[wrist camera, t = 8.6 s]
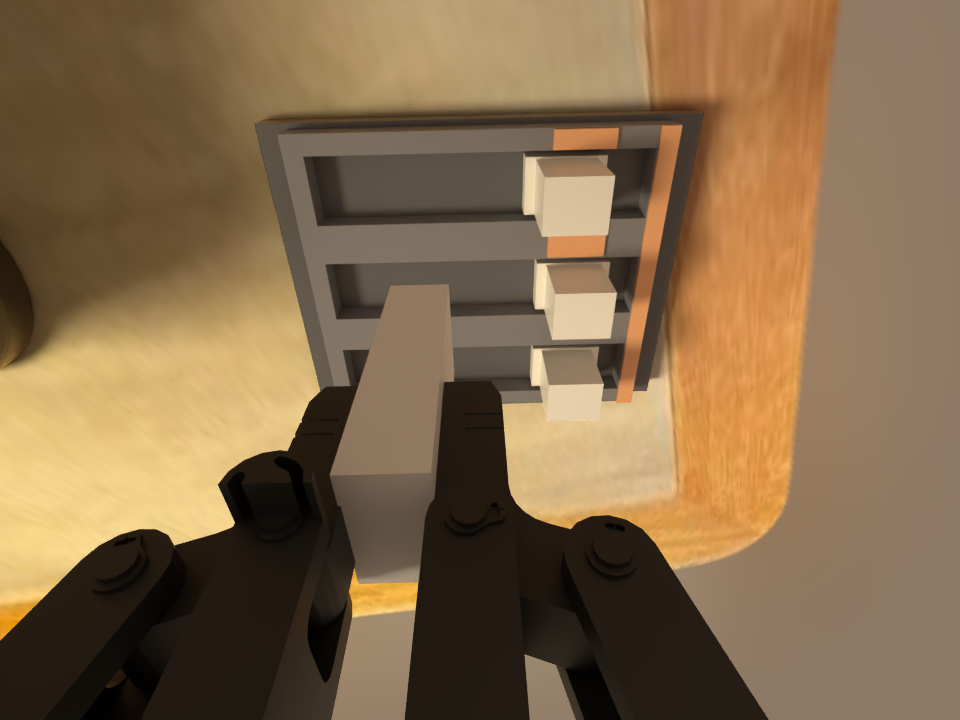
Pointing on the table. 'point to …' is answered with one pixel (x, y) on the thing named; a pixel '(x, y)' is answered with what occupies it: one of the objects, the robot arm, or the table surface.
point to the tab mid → (575, 297)
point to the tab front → (568, 192)
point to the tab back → (567, 381)
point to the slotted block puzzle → (473, 232)
